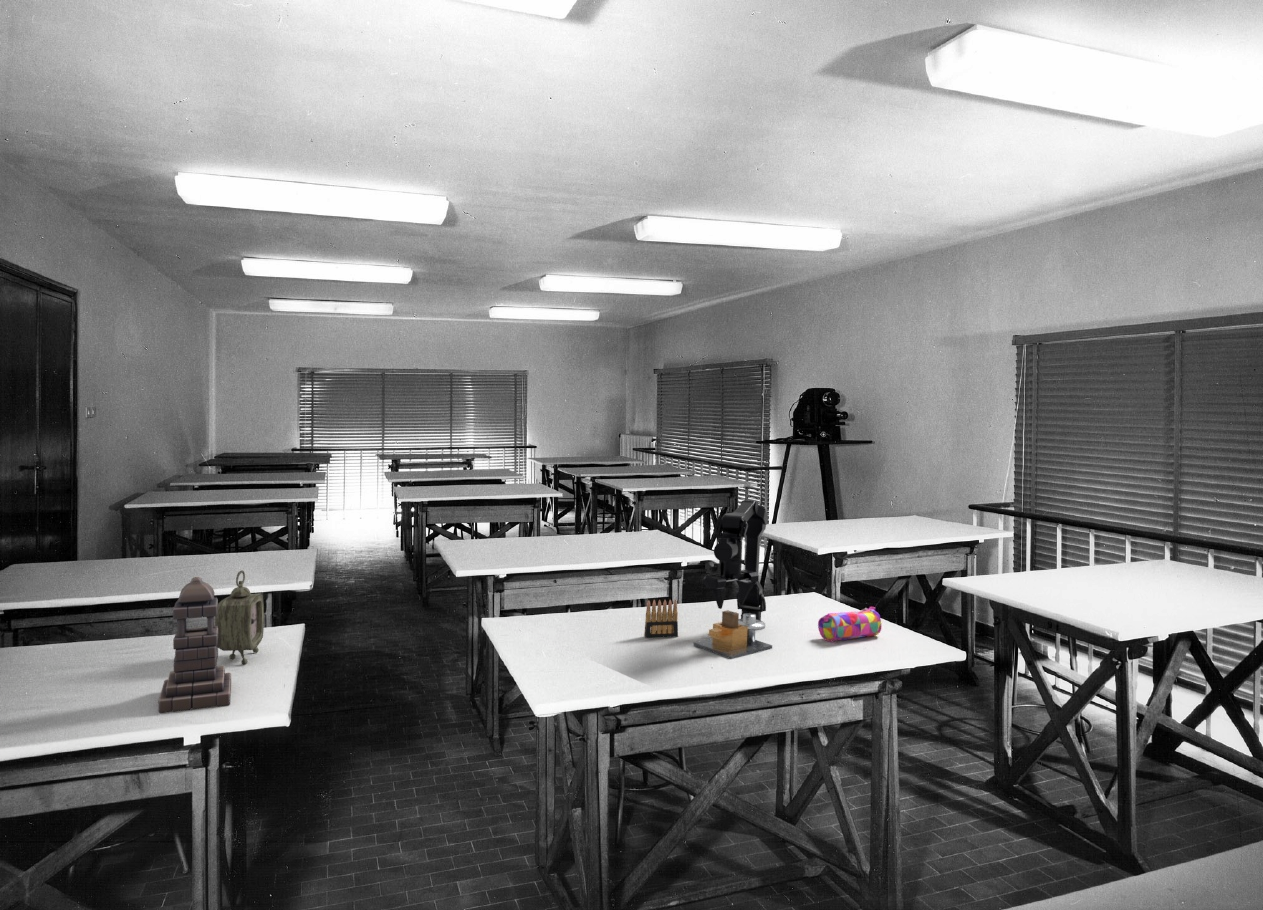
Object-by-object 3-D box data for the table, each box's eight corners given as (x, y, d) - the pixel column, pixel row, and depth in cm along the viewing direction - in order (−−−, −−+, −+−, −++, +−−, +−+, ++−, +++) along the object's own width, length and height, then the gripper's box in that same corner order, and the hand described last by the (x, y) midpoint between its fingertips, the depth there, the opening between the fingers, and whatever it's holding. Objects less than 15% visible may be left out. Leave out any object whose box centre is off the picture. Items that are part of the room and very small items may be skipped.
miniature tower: (164, 691, 205) (162, 572, 203) (231, 684, 211) (230, 568, 209) (158, 714, 190) (156, 586, 188) (230, 705, 196) (229, 581, 194)
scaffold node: (740, 634, 267) (741, 607, 267) (778, 646, 255) (779, 618, 254) (693, 645, 254) (694, 616, 253) (731, 658, 242) (732, 628, 241)
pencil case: (862, 630, 277) (863, 603, 276) (884, 637, 269) (885, 610, 268) (814, 638, 265) (816, 611, 265) (836, 646, 257) (837, 617, 257)
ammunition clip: (676, 635, 265) (677, 598, 264) (678, 636, 263) (679, 599, 262) (644, 636, 263) (645, 599, 262) (645, 638, 261) (646, 600, 260)
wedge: (726, 642, 255) (727, 610, 254) (737, 645, 252) (738, 613, 251) (721, 643, 253) (722, 611, 253) (732, 647, 250) (733, 614, 249)
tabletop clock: (249, 666, 224) (248, 576, 223) (213, 667, 223) (213, 576, 221) (264, 650, 239) (263, 565, 237) (230, 651, 237) (230, 565, 235)
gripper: (734, 549, 263) (732, 597, 264) (691, 554, 251) (690, 605, 252) (760, 554, 254) (758, 604, 255) (717, 560, 242) (716, 612, 243)
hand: (730, 606), depth 252 cm, fingers open, 9 cm apart
